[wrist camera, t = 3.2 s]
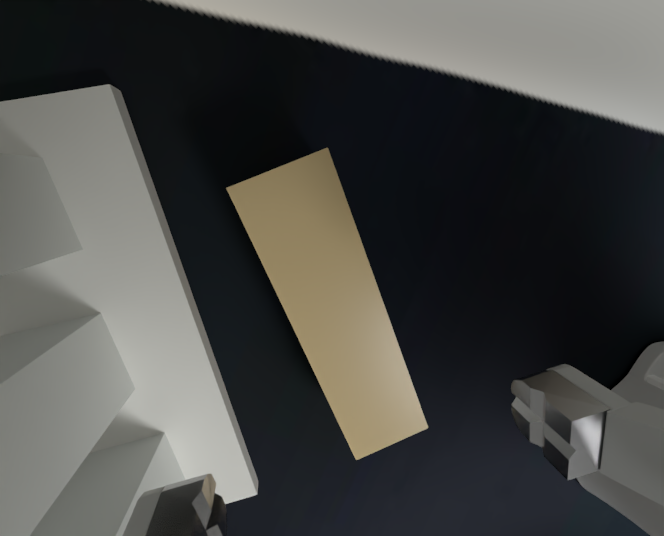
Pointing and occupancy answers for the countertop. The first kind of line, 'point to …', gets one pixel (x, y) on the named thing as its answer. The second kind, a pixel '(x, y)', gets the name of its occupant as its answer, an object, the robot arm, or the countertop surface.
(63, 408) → the display stand
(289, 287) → the tan wooden plank
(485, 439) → the countertop surface
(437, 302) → the countertop surface
